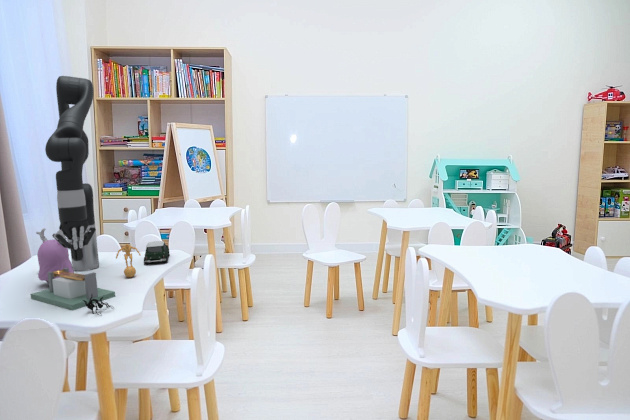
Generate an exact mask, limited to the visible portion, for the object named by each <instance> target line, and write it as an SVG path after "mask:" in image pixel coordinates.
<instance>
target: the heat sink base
mask: <svg viewBox="0 0 630 420" xmlns="http://www.w3.org/2000/svg"><path fill="white" fill-rule="evenodd" d="M63 270H64V271H65V272H69V268H63ZM76 273H77V274H80V272H76ZM47 274H48V283H49V284H48V283H47V284H48V288H46V289H44V290H39V291H36V292H32V293H30V300H31V299H32V300H36V301H40V302H42V303H46V304H50V305H53V306H57V307H60V308H62V309H67V310H71V311H74V310H77V309H81V308H84V307H86V304H85V302H84V301H82V300H85V301H86V302H87V304H88V303H89V300H90V298H91V295H92V299H97V300H100V298H102V297H103V299H102V301H104V300H105V301H106V300H108V299H111V298H114V297H116V291H114V290H109V289H106V288H100V287H98V283H97V281H98V280H97V273H96V272H94V271H92V272H89V273H86V274H85V273H84V274H83V273H81V274H82V275H84V278H85V280H84V281H80V280H75V279H70V278H65V277H59V278H55V279H54V274H53V272H51V271H50V272H47ZM92 299H91V300H92ZM92 302H93V304H95V303H96V302H95V301H92ZM98 302H99V303H100V301H98ZM96 304H97V303H96Z"/></svg>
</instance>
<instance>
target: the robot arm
mask: <svg viewBox="0 0 630 420" xmlns="http://www.w3.org/2000/svg"><path fill="white" fill-rule="evenodd" d="M55 86H56V87H55V88H56V100H57V101H56V103H57V109H58V117H59V118H58V122H57V126H56V129H55V130H54V132H53V133H52V134H51V135H50V136H49V138H48V139H47V141H46V144H45V149H44V150H45V155H46V157H47V158H48V159H49V160H50V161H51V162H56V163H60V165H61V170H58V171H57V172H56V173H55V183H56V191H57V192H56V193H57V194H56V201H57V209H58V210H57V211H58V220H59V223H60V224H59V226H58V231H57V232H55V233H53V234H52V236H51V237H52V238H54V240H57V241H58V242H59V243H60V244H61V245H62V246H63V247H64V248H67V249H68V250H70V256H71V257H70V258H71V264H72V268H73V271H78V272H81V271H82V272H83V271H90V270H95V269H97V268H99V267H100V260H99V249H98V248H99V247H98V239H97V231H96V230H97V229H96V221H95V211H94V210H95V209H94V208H95V207H94V191H93V187H92V185H91V184H90V183H84V182H83V169H84V164H85V163H86V162H87V160H88V157H89V154H90V153H89V137H88V135H87V134H86V132H85V131H84V124H85V120H86V118H87V115H88V114H89V112H90V109H91V107H92V103H93V99H94V85H93V83H92V81H91V80H90V79H89V78H83V77H76V76H68V75H61V76H58V78H57V80H56V85H55ZM70 105H72V106H71V107H70ZM63 234H64V235H65V237H66V238H67V239H66V240H65V239H64V238H63V237H64V235H63Z"/></svg>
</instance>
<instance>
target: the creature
mask: <svg viewBox="0 0 630 420" xmlns="http://www.w3.org/2000/svg"><path fill="white" fill-rule="evenodd" d="M91 299H92V295H91V298H90V300H89V303H88V304H87V302H86V301H85V300H82V301H84V302H85V304H86V306H85V307H86V308H87V309H89V310H90V311H91V313H92V314H93V315H95V314H96V315H98V316H100V317H102V316H103V315H102V314H100V313H98V311H99V310H101V309H102V308H103V307H104V306H106V309H108V310H110V309H112V310H114V309H115V307H114V306H113V305H110V304H109V303H108V302H104V301H103V300H102V299H103V297H102V298H100V300H97V299H92V300H91ZM92 301H95V302H96V303H93V302H92ZM98 301H99V302H98ZM94 308H96V309H95V313H94Z"/></svg>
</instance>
